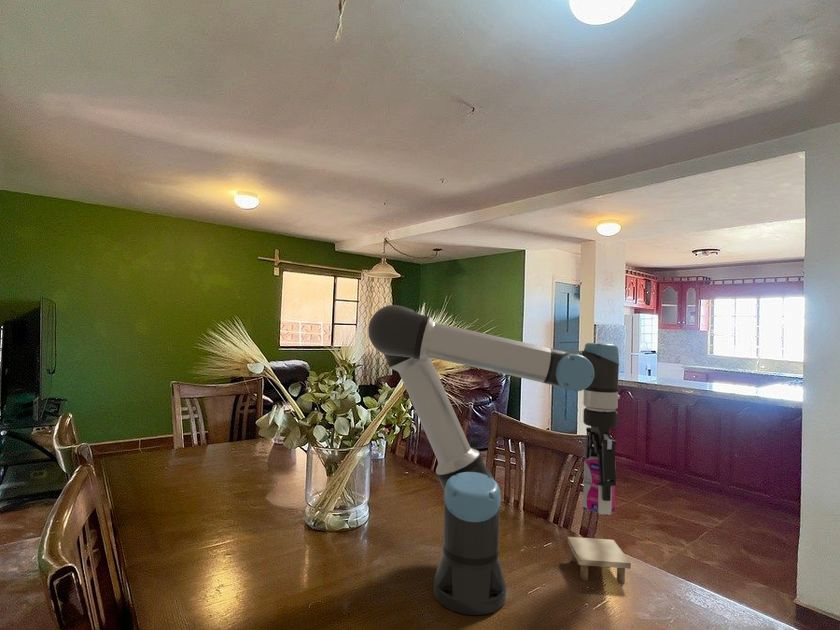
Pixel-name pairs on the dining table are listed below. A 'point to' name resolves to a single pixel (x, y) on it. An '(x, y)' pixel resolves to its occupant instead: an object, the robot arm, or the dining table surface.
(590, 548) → the footstool
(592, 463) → the supplement box
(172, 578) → the dining table surface
